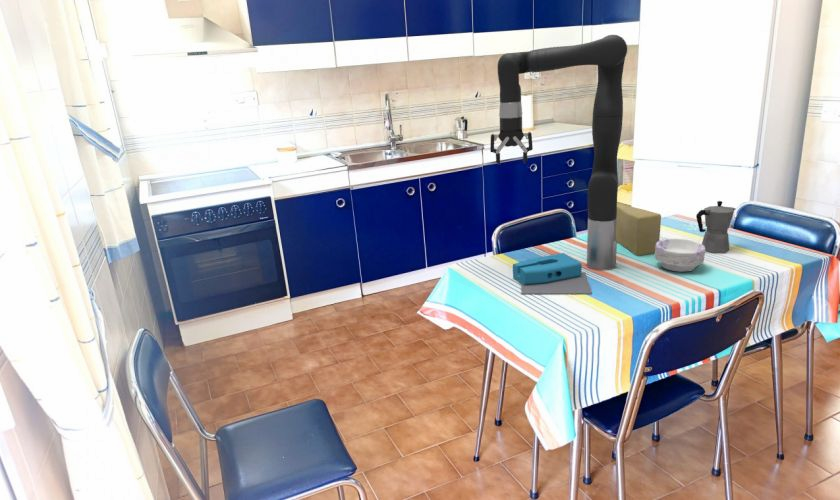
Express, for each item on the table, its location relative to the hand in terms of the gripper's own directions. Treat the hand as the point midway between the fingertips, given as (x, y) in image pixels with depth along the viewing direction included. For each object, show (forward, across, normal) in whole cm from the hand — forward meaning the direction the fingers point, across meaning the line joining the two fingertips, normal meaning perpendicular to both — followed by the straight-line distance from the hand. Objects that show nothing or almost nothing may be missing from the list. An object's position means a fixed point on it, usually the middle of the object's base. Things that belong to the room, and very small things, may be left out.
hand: (511, 163), depth 193 cm
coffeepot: (+36, -71, -10) cm, 80 cm away
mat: (+36, -13, +21) cm, 44 cm away
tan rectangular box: (+36, -44, -16) cm, 59 cm away
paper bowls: (+36, -55, +7) cm, 66 cm away
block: (+33, -2, +20) cm, 39 cm away
